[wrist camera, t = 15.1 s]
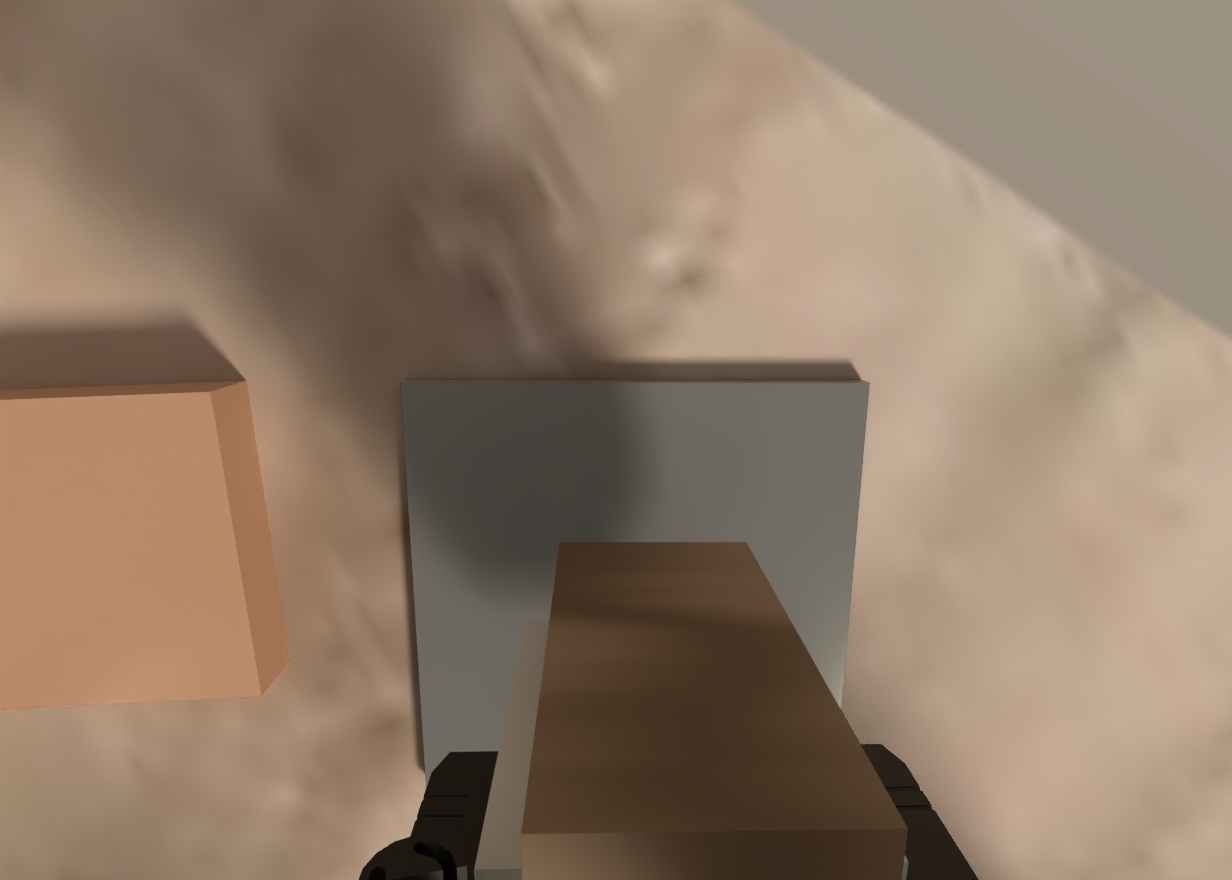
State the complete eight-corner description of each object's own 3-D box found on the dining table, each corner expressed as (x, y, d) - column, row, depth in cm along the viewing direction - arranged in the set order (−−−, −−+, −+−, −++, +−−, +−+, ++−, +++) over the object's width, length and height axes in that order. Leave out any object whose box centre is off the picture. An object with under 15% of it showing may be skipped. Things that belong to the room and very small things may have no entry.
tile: (-56, 712, 18) (-144, 405, 16) (11, 666, 20) (-60, 390, 18) (261, 696, 18) (210, 391, 16) (295, 653, 20) (252, 378, 18)
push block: (562, 784, 16) (532, 1249, 9) (559, 542, 15) (520, 833, 7) (733, 782, 16) (856, 1239, 9) (746, 541, 15) (907, 828, 7)
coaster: (430, 780, 21) (426, 792, 20) (405, 379, 18) (400, 382, 18) (828, 772, 21) (834, 784, 21) (862, 380, 19) (869, 382, 18)
